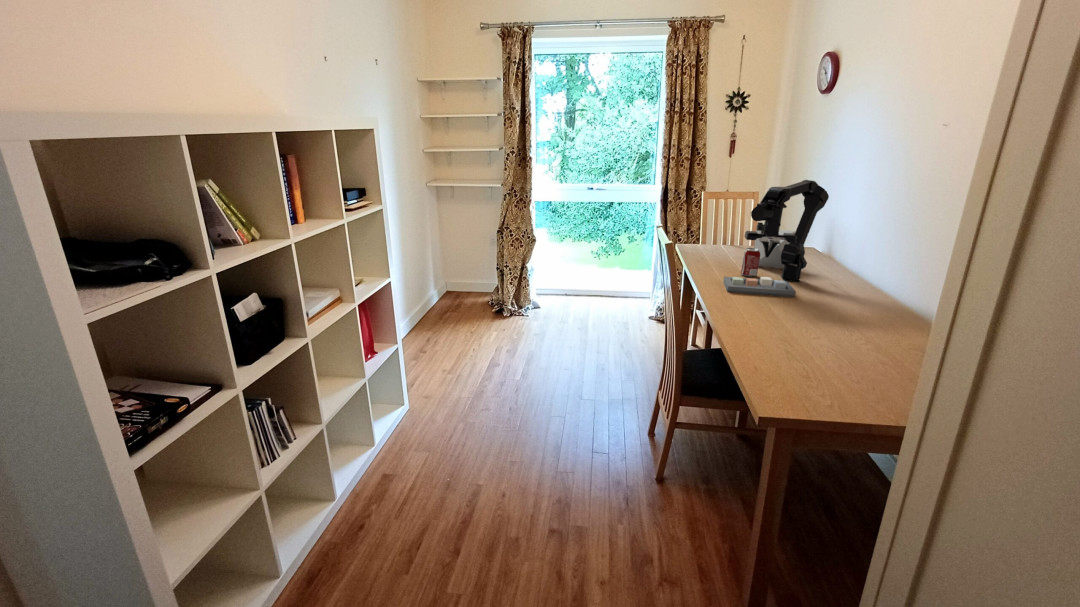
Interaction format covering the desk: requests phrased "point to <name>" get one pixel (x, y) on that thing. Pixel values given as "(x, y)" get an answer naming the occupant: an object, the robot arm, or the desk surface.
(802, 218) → the robot arm
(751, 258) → the soda can
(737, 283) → the key sage
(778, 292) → the keypad board
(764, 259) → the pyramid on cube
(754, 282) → the key terracotta
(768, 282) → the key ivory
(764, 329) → the desk surface
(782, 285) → the key slate
